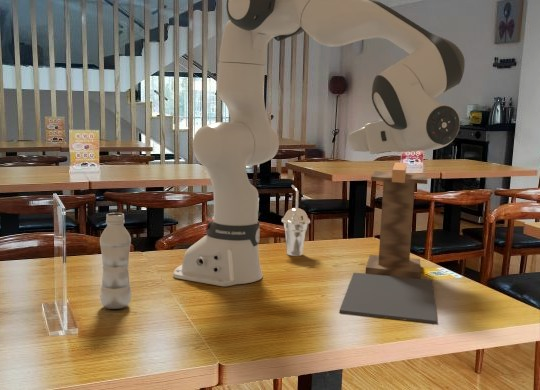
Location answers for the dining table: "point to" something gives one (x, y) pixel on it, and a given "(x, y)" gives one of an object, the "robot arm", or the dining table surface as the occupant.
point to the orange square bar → (399, 172)
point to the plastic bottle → (115, 263)
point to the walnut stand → (396, 228)
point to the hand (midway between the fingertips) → (382, 134)
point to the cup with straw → (295, 228)
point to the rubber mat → (390, 297)
